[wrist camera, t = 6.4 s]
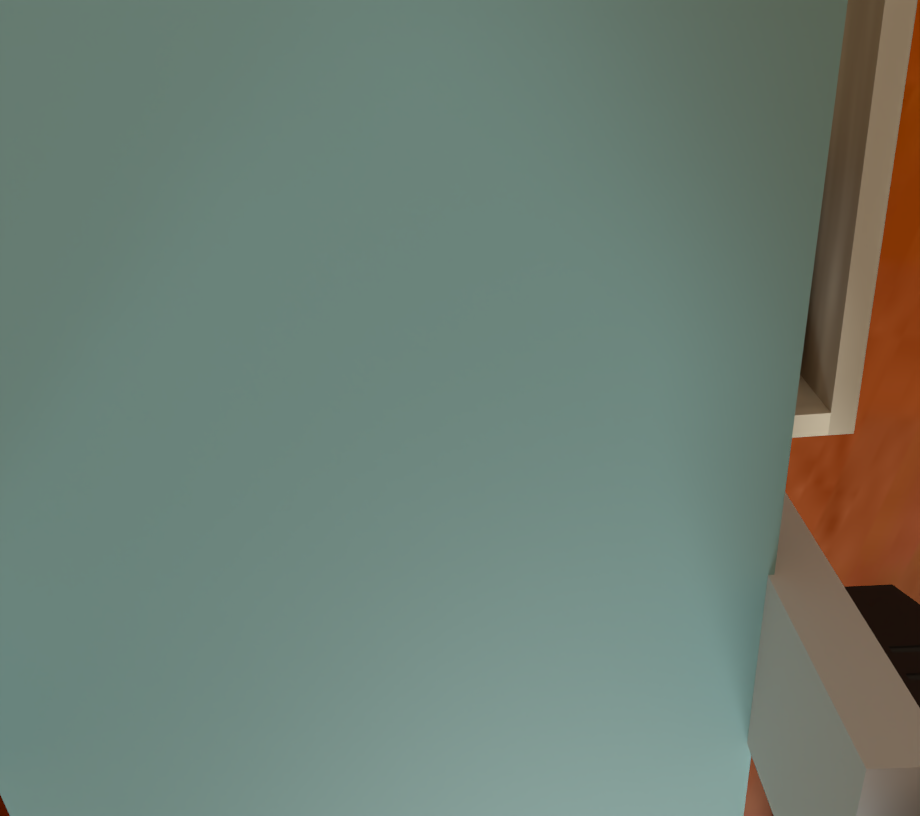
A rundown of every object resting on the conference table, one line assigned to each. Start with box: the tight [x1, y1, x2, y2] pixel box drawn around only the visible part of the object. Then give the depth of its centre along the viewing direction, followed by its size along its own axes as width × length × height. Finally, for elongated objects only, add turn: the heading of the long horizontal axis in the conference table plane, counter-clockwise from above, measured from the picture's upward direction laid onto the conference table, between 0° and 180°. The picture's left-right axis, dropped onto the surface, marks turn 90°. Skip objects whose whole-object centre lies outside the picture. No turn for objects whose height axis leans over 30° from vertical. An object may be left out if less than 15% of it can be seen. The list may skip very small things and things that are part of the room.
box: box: [792, 0, 917, 438], centre depth 26 cm, size 8×16×7 cm, turn 5°
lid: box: [0, 0, 848, 816], centre depth 11 cm, size 10×17×2 cm, turn 4°
